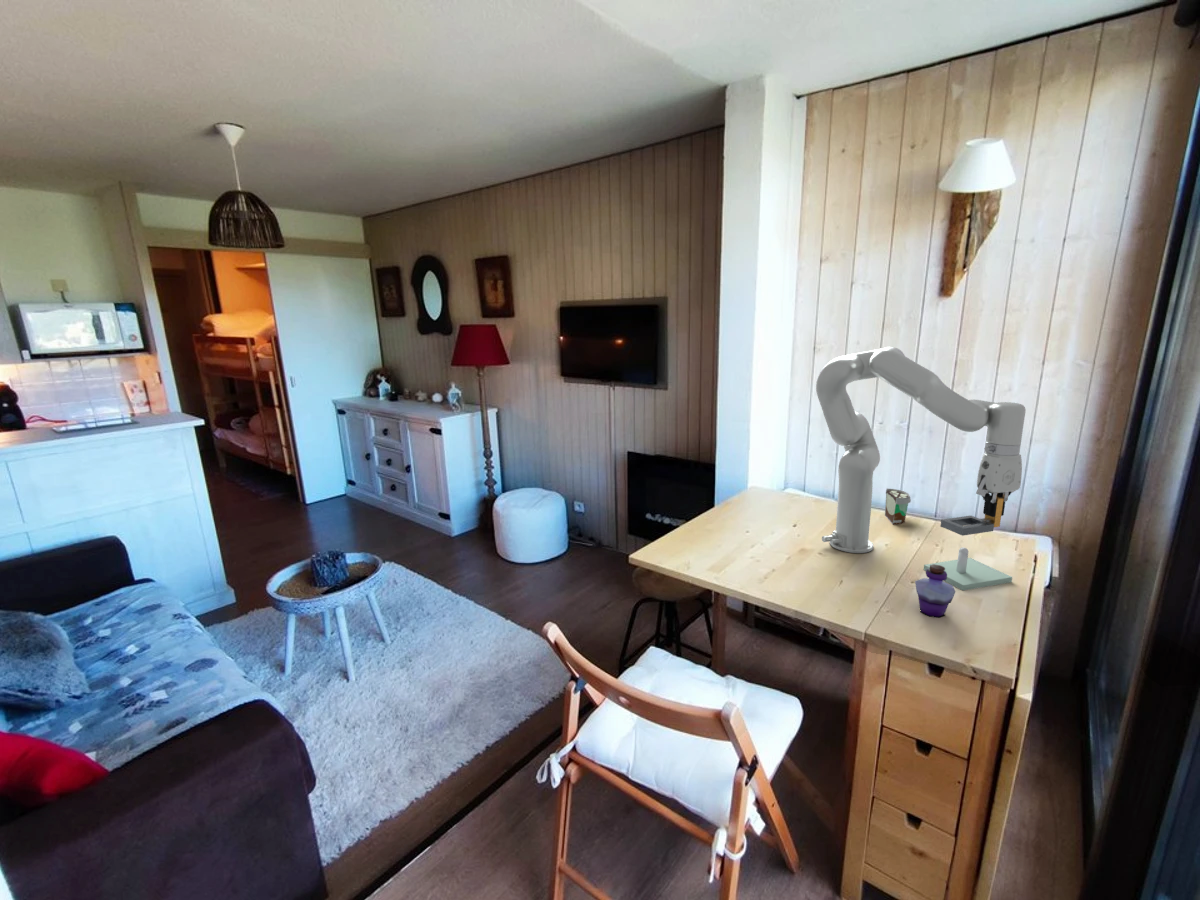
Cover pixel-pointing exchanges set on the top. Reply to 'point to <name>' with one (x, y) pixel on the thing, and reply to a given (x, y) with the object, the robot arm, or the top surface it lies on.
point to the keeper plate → (971, 572)
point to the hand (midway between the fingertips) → (993, 514)
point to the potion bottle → (934, 592)
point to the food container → (896, 506)
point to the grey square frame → (974, 522)
